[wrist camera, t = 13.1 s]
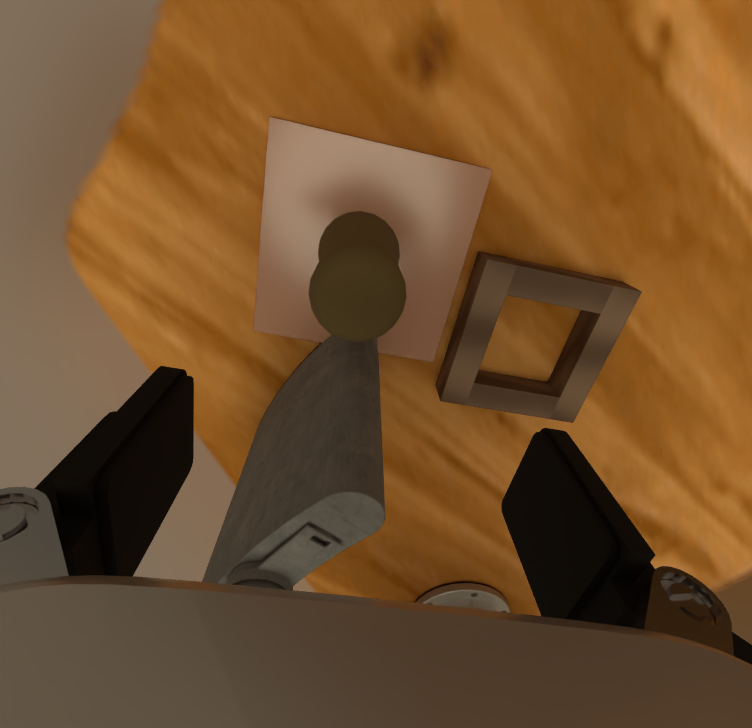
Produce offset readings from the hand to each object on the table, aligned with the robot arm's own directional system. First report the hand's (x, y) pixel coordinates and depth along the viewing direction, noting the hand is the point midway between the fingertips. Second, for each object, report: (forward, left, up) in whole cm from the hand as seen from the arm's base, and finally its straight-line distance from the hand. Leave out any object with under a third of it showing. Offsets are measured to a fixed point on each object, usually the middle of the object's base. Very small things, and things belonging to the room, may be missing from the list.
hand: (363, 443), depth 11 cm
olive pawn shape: (0, 0, -22) cm, 22 cm away
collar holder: (-4, -14, -22) cm, 27 cm away
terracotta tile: (0, 0, -22) cm, 22 cm away
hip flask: (-12, +3, -22) cm, 25 cm away
